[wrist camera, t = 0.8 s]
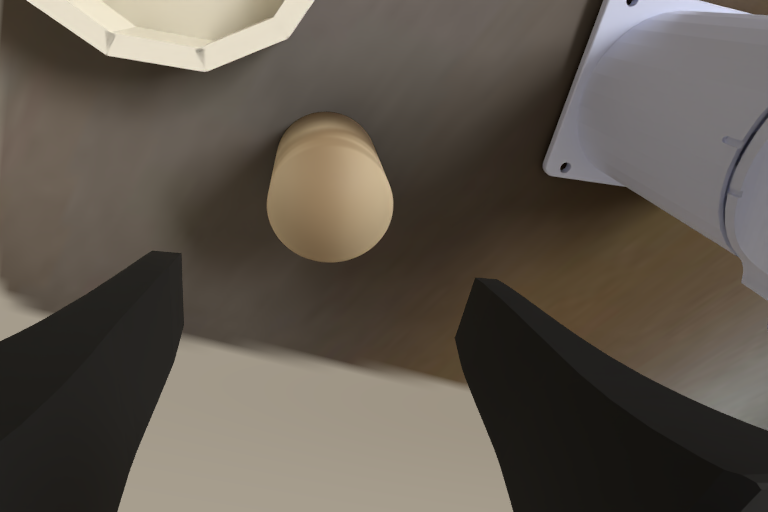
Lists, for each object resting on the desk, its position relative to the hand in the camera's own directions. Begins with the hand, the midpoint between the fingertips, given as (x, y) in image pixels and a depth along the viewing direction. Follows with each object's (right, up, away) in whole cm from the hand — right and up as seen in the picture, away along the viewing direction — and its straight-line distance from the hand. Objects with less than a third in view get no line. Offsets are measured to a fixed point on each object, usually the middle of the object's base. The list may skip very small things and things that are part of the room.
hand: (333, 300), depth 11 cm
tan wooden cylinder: (-1, +5, +9) cm, 10 cm away
